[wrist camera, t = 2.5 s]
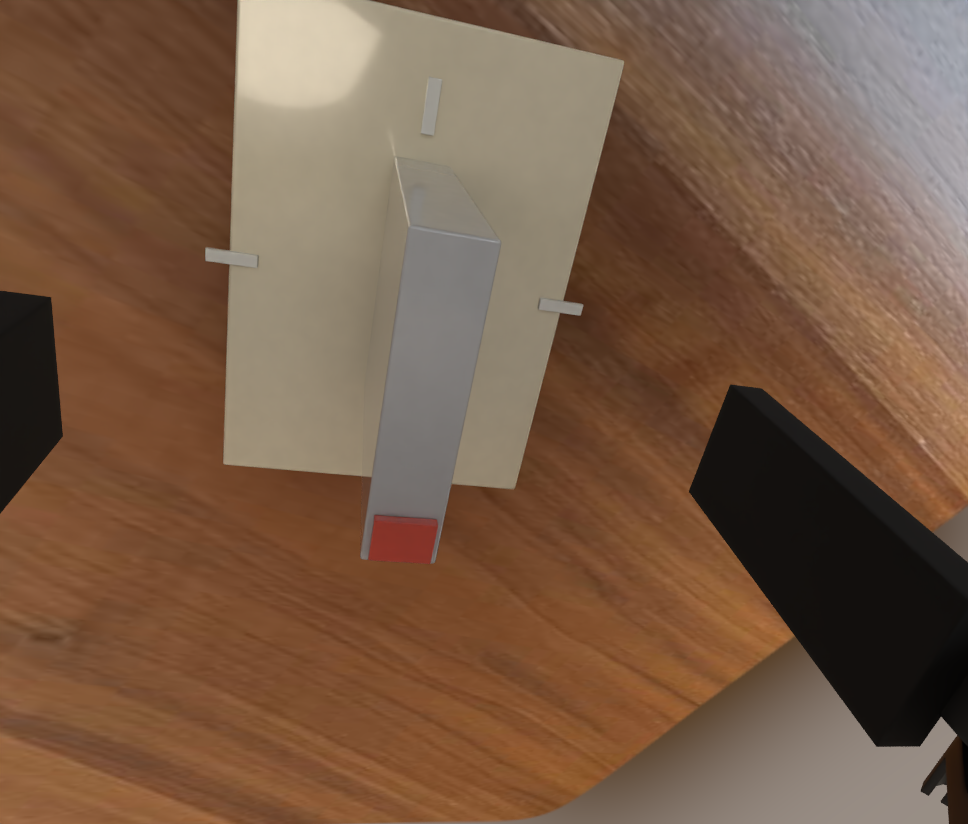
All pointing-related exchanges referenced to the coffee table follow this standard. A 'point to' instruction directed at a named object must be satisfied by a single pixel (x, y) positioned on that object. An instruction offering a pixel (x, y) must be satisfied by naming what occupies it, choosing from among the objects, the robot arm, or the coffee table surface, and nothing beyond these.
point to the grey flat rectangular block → (421, 357)
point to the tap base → (363, 207)
